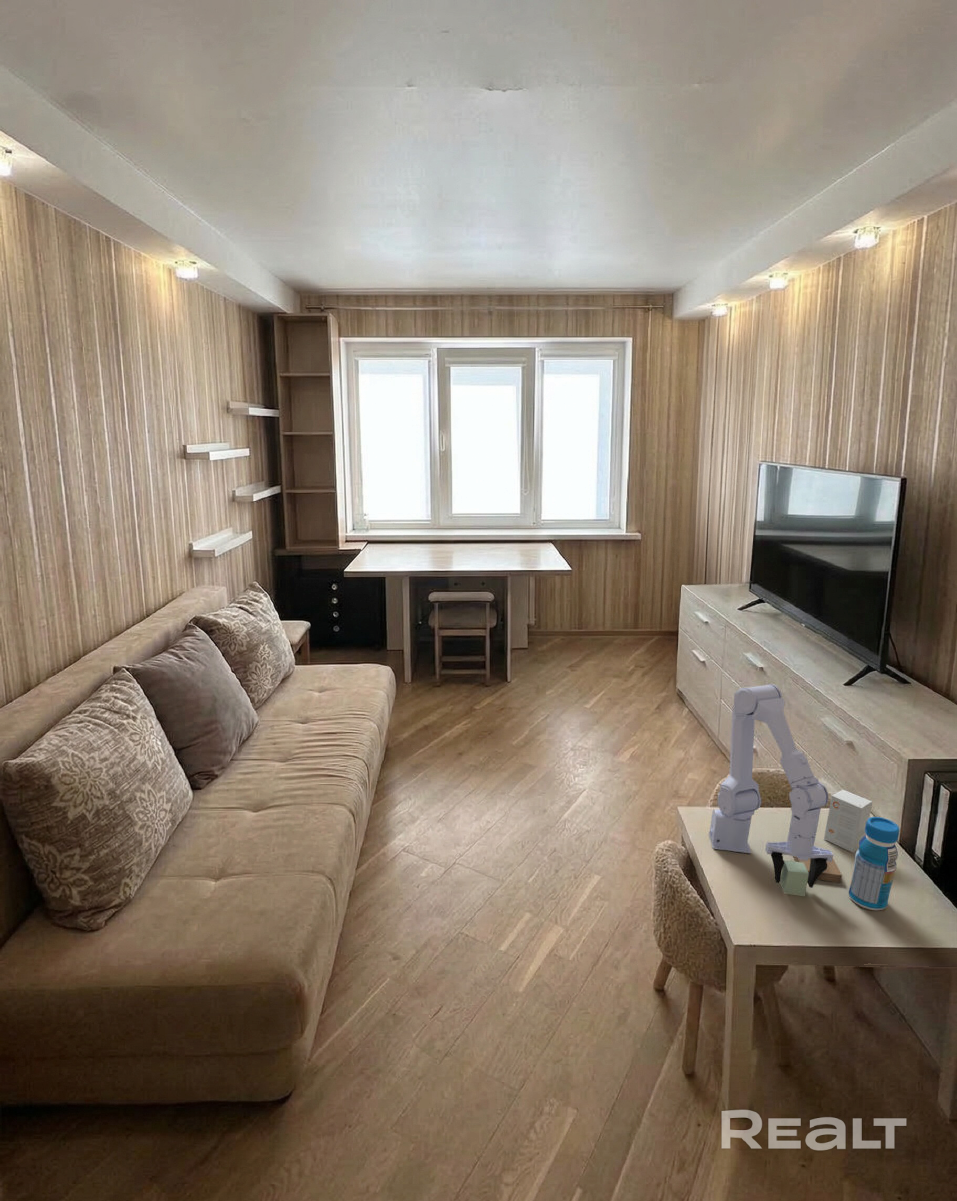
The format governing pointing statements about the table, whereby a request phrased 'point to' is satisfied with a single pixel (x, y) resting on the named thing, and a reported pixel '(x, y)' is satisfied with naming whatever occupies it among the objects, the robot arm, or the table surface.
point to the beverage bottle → (875, 864)
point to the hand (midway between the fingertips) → (793, 883)
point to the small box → (847, 820)
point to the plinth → (827, 875)
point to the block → (794, 878)
